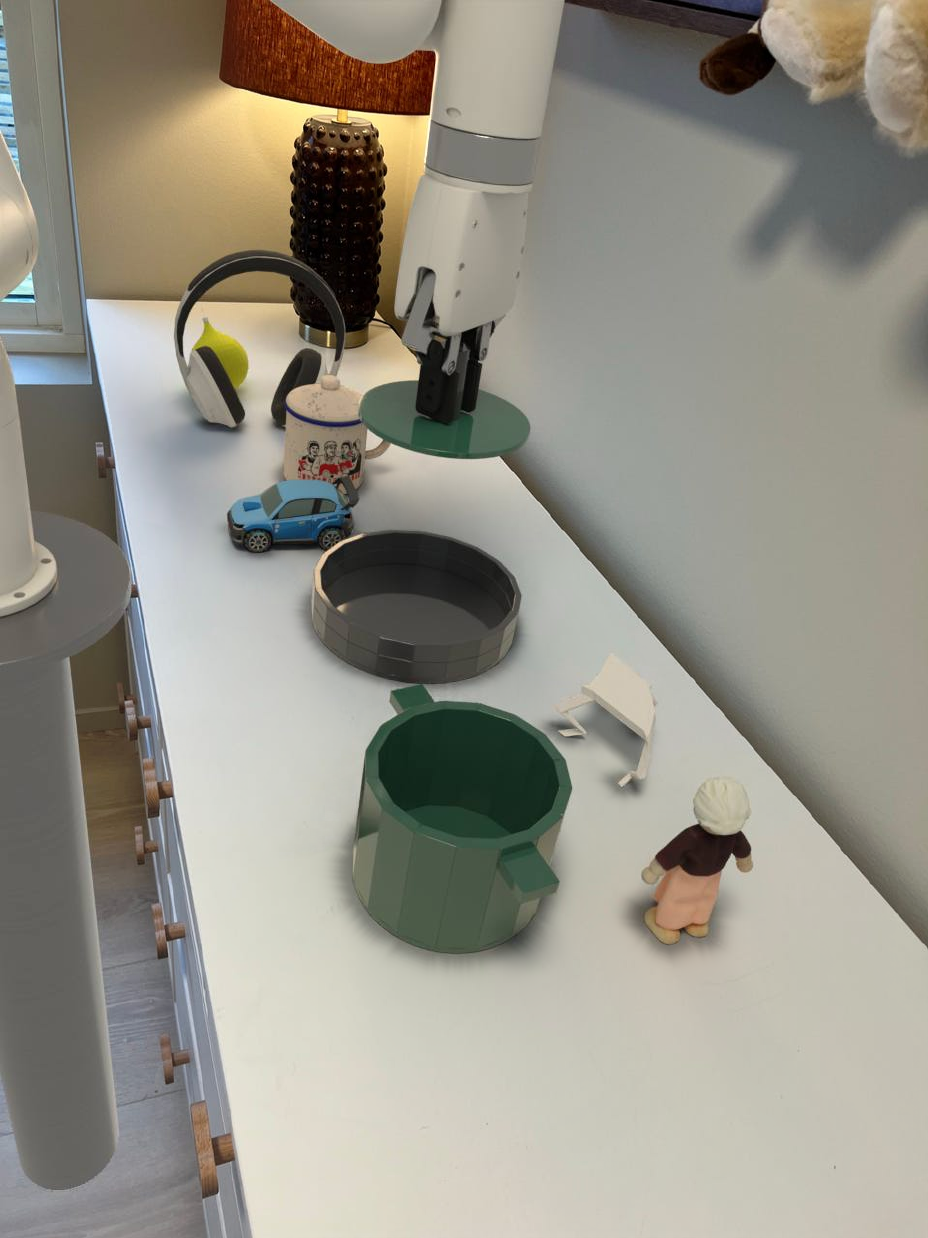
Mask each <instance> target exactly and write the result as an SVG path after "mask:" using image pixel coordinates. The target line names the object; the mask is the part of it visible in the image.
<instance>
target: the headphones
mask: <svg viewBox="0 0 928 1238" xmlns="http://www.w3.org/2000/svg"><path fill="white" fill-rule="evenodd" d="M253 272H262V273H274V274H279V275H282V276H286V277H289V278H291V279H293V280H295V281H298V282H299V283H302V284H303V286H305V287H307V288H309V289H310V290H311V291H312V292H313V293H314V294H315V295H316V296H317V297H318V298H319V299H320V300H321V301H322V303H323V304H324V306H325V307H326V309H327V311H328V312H329V314H330V317H331V320H332V323H333V326H334V331H335V332H334V333H335V340H336V342H335V354H334V360H333V362H332V366H331V368H330V371H328V368H327V360H326V357H325V356H324V355H323V354H322V353H320V352H318V351H317V350H315V349H314V348H309V347H305V348H302V349H300V350H299V351H298V352H297V353H296V354H295V355H294V357H293V358H292V360H291V361H290V363H288V366H287V368H286V370H285V371H284V373H283V375H282V377H281V378H280V381H279V383H278V385H277V387H276V390H275V393H274V395H273V397H272V402H271V404H270V413H271V416H272V419H274V420H275V422H276V423H278V424H279V425H280V426H282V427H284V428H286V413H287V410H286V408H285V400H286V398H287V396H288V394H289V393H290V392H291V391H292V390H294V389H295V388H298V387H301V386H304V385H311V384H315V383H319V382H321V378H322V377H323V376H325V375H333V376H336V377H337V376H338V373H339V370H340V366H341V363H342V361H343V357H344V352H345V344H346V325H345V319H344V316H343V313H342V309H341V308H340V305H339V303H338V301H337V299H336V294H335V293H334V291H333V289H332V288H331V287H330V286H329V284H328V283H327V282H326V280H324V278H323V277H322V276H320V275H319V273H317V272H316V271H315V270H314V269H313V268H311V267H310V266H309V265H308V264H306V263H304V262H303V261H301V260H299V259H297V258H295V257H293V256H291V255H288V254H285V253H282V252H280V251H272V250H266V249H249V250H241V251H238V252H237V251H236V252H233V253H230V254H227V255H225V256H222V257H220V258H219V259H217V260H215V261H213V262H211V264H209V265H208V266H206V267H204V268H203V269H202V270H201V271H199V273H198V274H197V275H196V276H194V278H193V279H192V280H191V281H190V282H189V284H188V287H187V288H186V290H185V292H184V293H183V295H182V297H181V299H180V301H179V304H178V306H177V310H176V314H175V318H174V328H173V329H174V330H173V341H174V349H175V357H176V361H177V364H178V367H179V368H178V369H179V372H180V374H181V377H182V379H183V383H184V385H185V387H186V389H187V391H188V393H189V395H190V396H191V398H192V400H193V402H194V404H195V405H196V407H197V408H198V410H199V412H200V413H201V414H202V415H203V417H204V418H205V420H207V421H208V422H209V423H216V424H221V425H225V426H227V427H229V428H235V427H237V426H238V425H240V423H242V422H243V420H244V419H245V417H246V411H245V408H244V406H243V404H242V401H241V400H240V397H239V395H238V393H237V392H236V391H237V390H236V389H234V387H233V385H232V383H231V380H230V378H229V376H228V374H227V372H226V371H225V369H224V367H223V365H222V364H221V362H220V360H219V358H218V357H217V355H216V353H215V352H214V351H213V350H212V349H211V347H208V346H203V347H199V348H197V349H195V350H193V351H192V350H191V351H192V352H191V351H190V352H189V360H188V364H187V361H186V358H185V353H184V334H185V329H186V323H187V321H188V319H189V317H190V313H191V311H192V310H193V308H194V306H195V305H196V303H197V302H198V301H199V300H200V299H201V298H202V297H203V296H205V294H206V293H207V292H208V291H209V290H211V288H213V287H214V286H215V285H217V284H219V283H221V282H223V281H225V280H227V279H228V278H230V277H234V276H238V275H241V274H245V273H253Z"/></svg>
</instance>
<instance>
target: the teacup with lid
mask: <svg viewBox="0 0 928 1238" xmlns="http://www.w3.org/2000/svg"><path fill="white" fill-rule="evenodd" d="M363 395H364V394H362V393H360V392H358V391H356V390H354V389H351V388H349V387H346V386H344V385H342V384H341V380H340V378H339V377H337V376H333V375H325V376H323V377H322V378H321V382H319V383H315V384H311V385H304V386H301V387H298V388H295V389H294V390H292V391H291V392H290V393H289V394H288V396H287V398H286V400H285V408H286V410H287V413H286V427H285V433H284V435H285V437H284V458H283V460H284V461H283V476H284V479H285V481H287V480H300V479H311V480H321V481H325V482H329V483H333V482H334V481H335V480H336V479H337V478H340V477H345V476H347V475H349V477H350V479H351V481H352V483H353V485H354V487H355V489H356V490H357V489H358V488H359V487H360V486H361V485H362V483H363V479H364V470H365V469H364V468H365V460H373V459H376V458H379V457H382V455H383V454H385V453H386V452H387V451H388V449H389V448H390V446H391V445H392V444H391V443H389V442H387V441H385V440H383V439H382V441H381V442H380V443H379V444H378V445H377V446H376V447H374V448H372V449H369V450H367V441H368V440H367V439H368V431H369V430H368V429H367V428H366V427H365V426H364V424H363V423H362V422H361V420H360V418H359V416H358V404H359V400H360V399H361V397H362V396H363ZM336 485H337V484H334V486H336ZM338 488H339V489H340V490H341V491H342V492H343V493H344V495H348V494H347V492H346V490H345V488H344V486H343V484H342V483H340V485H339V487H338Z"/></svg>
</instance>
